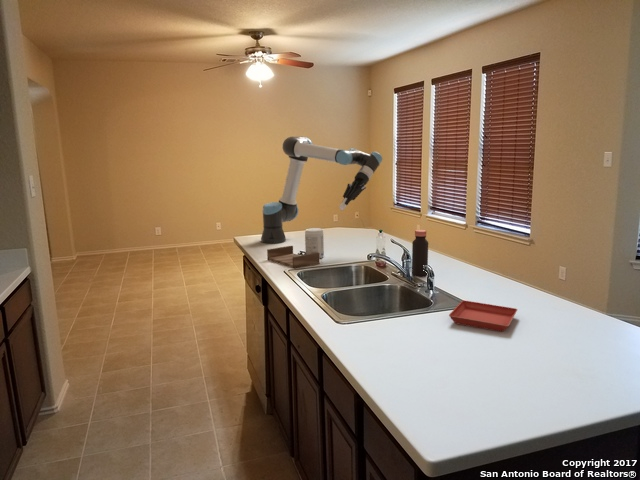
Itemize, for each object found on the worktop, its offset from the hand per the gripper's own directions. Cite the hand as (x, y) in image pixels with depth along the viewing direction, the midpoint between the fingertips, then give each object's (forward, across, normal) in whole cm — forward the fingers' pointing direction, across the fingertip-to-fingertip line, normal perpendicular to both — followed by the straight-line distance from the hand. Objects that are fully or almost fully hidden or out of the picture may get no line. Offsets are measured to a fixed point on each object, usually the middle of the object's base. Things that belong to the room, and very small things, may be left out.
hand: (341, 208), depth 253 cm
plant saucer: (+41, -109, +6) cm, 116 cm away
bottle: (+21, -59, -14) cm, 64 cm away
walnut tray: (+40, -1, +6) cm, 41 cm away
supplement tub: (+30, 0, -4) cm, 30 cm away
